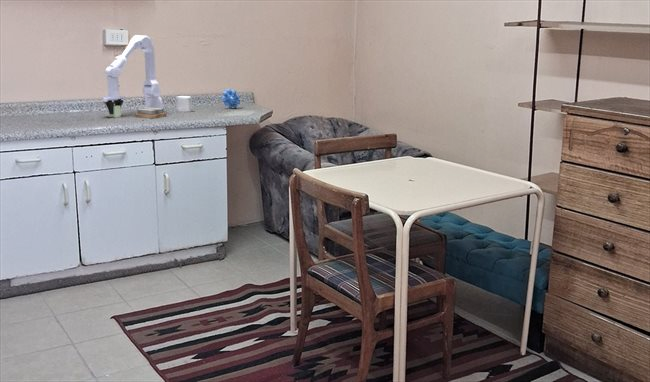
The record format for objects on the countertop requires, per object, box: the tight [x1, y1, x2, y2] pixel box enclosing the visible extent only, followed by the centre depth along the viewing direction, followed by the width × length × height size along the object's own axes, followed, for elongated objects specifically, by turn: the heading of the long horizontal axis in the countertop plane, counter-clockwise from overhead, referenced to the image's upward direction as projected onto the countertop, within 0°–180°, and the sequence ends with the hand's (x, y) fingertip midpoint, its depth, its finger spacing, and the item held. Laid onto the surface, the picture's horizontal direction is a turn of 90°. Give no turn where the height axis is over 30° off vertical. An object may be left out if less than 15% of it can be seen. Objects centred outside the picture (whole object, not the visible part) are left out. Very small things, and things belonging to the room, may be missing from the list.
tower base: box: [134, 112, 167, 120], centre depth 401 cm, size 12×12×2 cm
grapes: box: [221, 88, 241, 109], centre depth 437 cm, size 12×7×12 cm, turn 114°
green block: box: [108, 104, 122, 118], centre depth 399 cm, size 4×4×6 cm
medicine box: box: [175, 95, 193, 113], centre depth 424 cm, size 8×4×9 cm, turn 84°
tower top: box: [137, 107, 165, 115], centre depth 400 cm, size 10×10×2 cm
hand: (114, 113), depth 400 cm, fingers closed on green block, 4 cm apart
